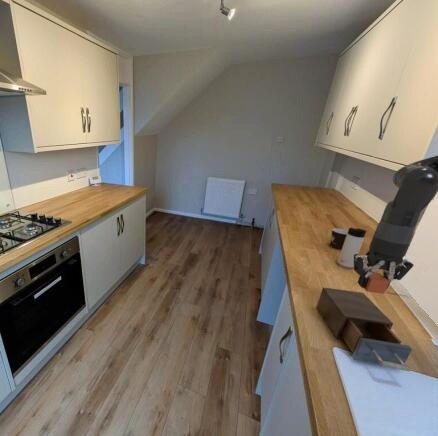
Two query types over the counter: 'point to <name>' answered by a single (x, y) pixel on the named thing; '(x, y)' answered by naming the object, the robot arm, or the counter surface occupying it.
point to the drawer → (375, 344)
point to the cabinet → (348, 309)
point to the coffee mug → (338, 238)
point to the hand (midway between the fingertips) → (371, 287)
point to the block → (377, 283)
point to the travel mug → (351, 247)
